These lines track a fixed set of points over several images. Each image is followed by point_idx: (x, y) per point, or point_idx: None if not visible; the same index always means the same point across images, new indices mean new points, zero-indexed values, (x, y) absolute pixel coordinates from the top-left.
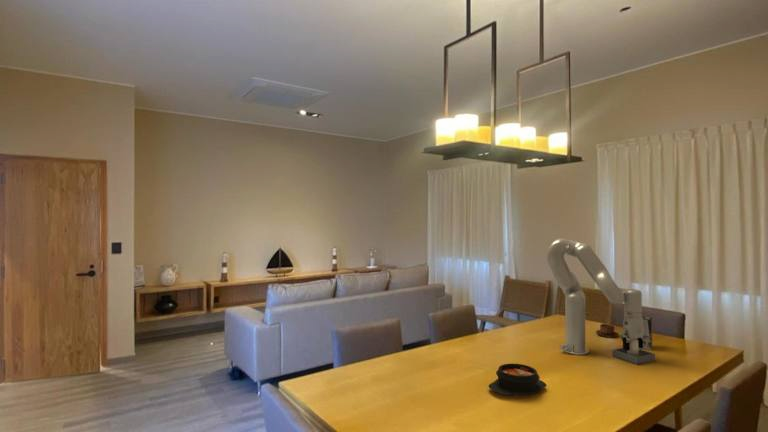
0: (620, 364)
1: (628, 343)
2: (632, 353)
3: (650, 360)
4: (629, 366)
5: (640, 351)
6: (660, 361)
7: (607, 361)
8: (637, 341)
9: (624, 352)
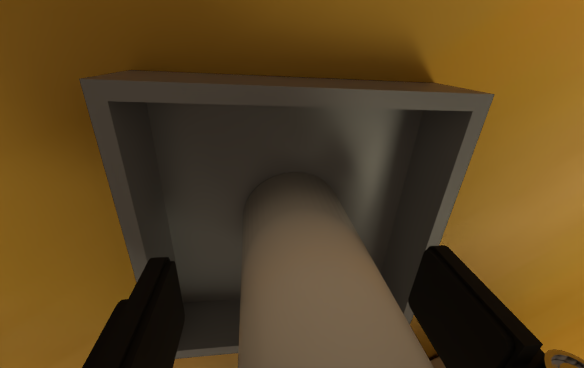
0: (524, 156)
1: (525, 333)
2: (351, 222)
3: (216, 75)
4: (531, 87)
5: (153, 255)
6: (65, 30)
7: (514, 234)
8: (343, 354)
9: None
